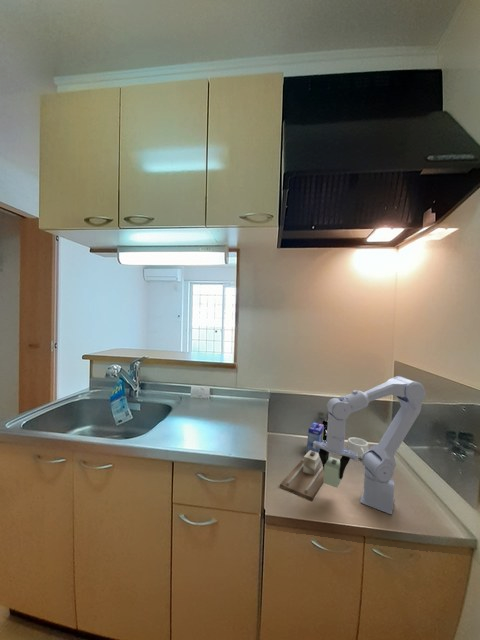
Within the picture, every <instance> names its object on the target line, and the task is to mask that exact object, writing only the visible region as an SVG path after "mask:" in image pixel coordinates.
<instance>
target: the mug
mask: <svg viewBox="0 0 480 640" xmlns="http://www.w3.org/2000/svg"><path fill="white" fill-rule="evenodd" d="M345 448H346V449H348V450H350V451H352V452H355V453H358V459H362V456H363V454H364V453H365V452H366V451H368V450H369V443H368V441H367V440H365V439H363V438H360V437H354V436H353V437H348V439H347V443H346V447H345Z"/></svg>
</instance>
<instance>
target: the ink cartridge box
mask: <svg viewBox="0 0 480 640" xmlns="http://www.w3.org/2000/svg"><path fill="white" fill-rule="evenodd" d="M321 422H322V420H321V421H319V422H312V423H311V425H310V426H309V428H308V430H307V431H308V434H307V445H306V454H307V453H308V452H309V451H310V450H311V451H314V452H317V453H319V451H320V449H317V448H316V449H314V448H313V442H314V441H318V442H323V443H324V431H325V430H324V429H325V425H324V424H323V423H322V424H321ZM306 454H305V455H306Z"/></svg>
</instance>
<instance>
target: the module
mask: <svg viewBox="0 0 480 640" xmlns="http://www.w3.org/2000/svg"><path fill="white" fill-rule="evenodd" d="M339 475H340V459H339V458H336V457H335V458H334V457H332V456H329V457H328V460H327V462H326V463H325V465H324V480H323V484H326V485H327V486H331V487H333V488H336V489H338V487H339V486H340V484H341V482H342V479H343V478H342V479H339Z"/></svg>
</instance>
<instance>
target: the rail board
mask: <svg viewBox="0 0 480 640" xmlns="http://www.w3.org/2000/svg"><path fill="white" fill-rule="evenodd" d="M323 480H324V469H323V465H321V459H320V456H319V453H317V452H314V451H311V450H310V451H309V452H308V453H307V454H305V455H304V456H303V459H302V460H300V461H299V462H298V463H297V465H296V466H295V467H294V468H292V470H291V472H290V473H288V475H287V476H286V477H285V478H284V479H283V480H282V481H281V483H279V488H281V489H283V490H286V491H289V492H290V493H294V494H295V495H298V496H301V497H303V498H305V499H308V500H310V501H314V499H315V497H316V495H317V494H318V492H319V490H320V489H321V487H322V486H323V485H324V483H323Z"/></svg>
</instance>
